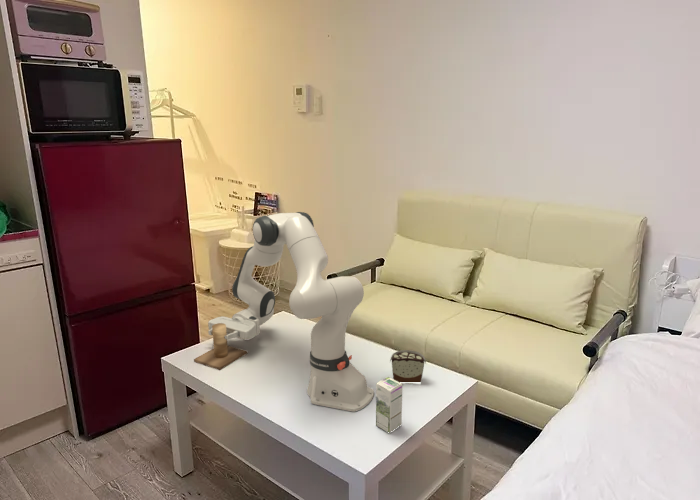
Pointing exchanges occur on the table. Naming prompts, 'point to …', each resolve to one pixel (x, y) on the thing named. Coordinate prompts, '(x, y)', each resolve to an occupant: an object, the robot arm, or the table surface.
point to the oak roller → (219, 340)
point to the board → (220, 363)
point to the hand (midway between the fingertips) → (217, 335)
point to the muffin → (407, 366)
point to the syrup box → (388, 404)
